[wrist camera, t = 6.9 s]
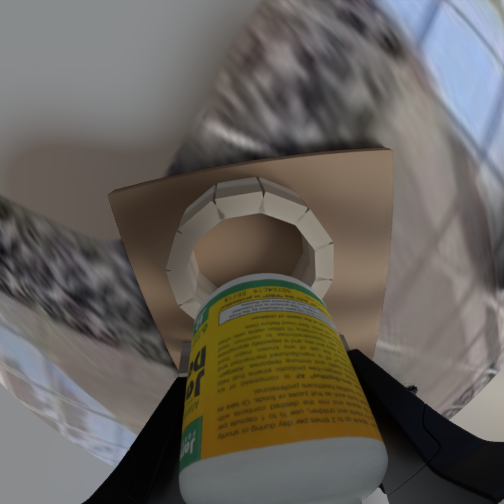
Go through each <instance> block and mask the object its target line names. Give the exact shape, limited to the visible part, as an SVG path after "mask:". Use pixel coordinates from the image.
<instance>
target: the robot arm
mask: <svg viewBox="0 0 504 504" xmlns="http://www.w3.org/2000/svg"><path fill="white" fill-rule="evenodd" d="M346 352H347V354H348V357H349V359H350V361H351V364H352V366H353V368H354V371H355V373H356V376H357V378H358V380H359V383H360V385H361V388H362V390H363V392H364V394H365V397H366V399H367V402H368V404H369V407H370V409H371V412H372V414H373V417H374V419H375V422H376V424H377V427H378V429H379V432H380V434H381V437H382V439H383V442H384V445H385V447H386V451H387V455H388V468H387V472H386V475H385V477H384V479H383V481H382V482H381V484H380V485H379V486H378V487H379V488H381V490H382V492H383V493H384V494H386V495H387V497H388V501H389V504H504V442H493V441H486V440H483V439H481V438H478V437H476V436H475V435H473V434H471V433H469V432H468V431H466V430H464V429H462V428H461V427H459V426H457V425H456V424H454V423H452V422H451V421H449V420H448V419H446V418H445V417H443V416H442V415H440V414H439V413H438V412H436V411H435V410H434V409H432V408H431V407H430V406H428V405H427V404H425V403H424V402H423V401H422V400H421V399H420V398H418V397H417V396H416V395H415V394H416V392H417V390H418V389H417V387H414V388H411V389H407V388H406V387H404V386H403V385H402V384H401V383H399V382H398V381H397V380H396V379H394V378H393V377H392V376H391V375H389V374H388V373H387V372H386V371H385V370H383V369H382V368H381V367H380V366H378V365H377V364H376V363H375V362H373V361H372V360H371V359H370V358H368V357H367V356H366V355H365V354H363V353H362V352H361V351H360V350H358V349H351V350H347V351H346ZM187 378H188V376H184V377H178V378H176V380H175V381H174V383H173V384H172V386H171V387H170V389H169V390H168V392H167V393H166V395H165V396H164V398H163V399H162V401H161V402H160V404H159V405H158V407H157V408H156V410H155V411H154V413H153V414H152V416H151V417H150V419H149V420H148V422H147V423H146V425H145V426H144V428H143V429H142V431H141V432H140V434H139V435H138V437H137V438H136V440H135V441H134V443H133V444H132V446H131V447H130V449H129V450H128V451H127V453H126V454H125V456H124V457H123V459H122V460H121V461H120V463H119V464H118V466H117V467H116V468H115V470H114V471H113V472H112V473H111V474H110V476H109V477H108V478H107V479H106V480H105V481H104V482H103V484H102V485H101V486H100V487H99V488H98V489H97V490H96V491H95V492H94V494H93V495H92V496H91V497H90V498H89V499H87V500H86V501H85V502H83V503H82V504H186V503H185V501H184V500H183V498H182V495H181V493H180V488H179V468H180V451H181V439H182V426H183V416H184V409H185V406H184V404H185V397H186V387H187Z"/></svg>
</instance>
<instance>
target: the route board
mask: <svg viewBox="0 0 504 504" xmlns="http://www.w3.org/2000/svg"><path fill="white" fill-rule="evenodd" d="M393 185H394V165H393V150H392V149H389V148H385V147H384V148H364V149H349V150H336V151H325V152H315V153H305V154H297V155H288V156H281V157H273V158H266V159H259V160H253V161H246V162H240V163H234V164H228V165H223V166H217V167H212V168H207V169H202V170H197V171H192V172H187V173H182V174H178V175H173V176H169V177H164V178H160V179H156V180H152V181H148V182H143V183H139V184H136V185H132V186H128V187H124V188H120V189H117V190H114V191H112V192H111V193H110V194H108V197H109V201H110V204H111V208H112V211H113V214H114V217H115V220H116V223H117V226H118V229H119V232H120V235H121V238H122V241H123V244H124V247H125V250H126V252H127V255H128V258H129V261H130V263H131V266H132V269H133V271H134V274H135V276H136V279H137V281H138V284H139V286H140V289H141V291H142V294H143V296H144V299H145V301H146V303H147V306H148V308H149V310H150V312H151V315H152V317H153V319H154V321H155V324H156V326H157V328H158V330H159V332H160V334H161V337H162V339H163V341H164V343H165V345H166V347H167V349H168V351H169V353H170V355H171V357H172V359H173V361H174V363H175V365H176V367H177V369H178V374H179V376H180V377H184V376H188V369H189V360H190V352H191V344H192V335H193V328H194V321H195V318H196V314H197V312H198V310H199V308H200V307H201V305H202V304H203V303H204V301H205V300H206V299H207V298H208V297H209V296H210V295H211V294H212V293H213V292H214V291H215V290H217V289H218V288H219V287H221V286H222V285H224V284H226V283H228V282H229V281H232V280H234V279H237V278H239V277H243V276H247V275H252V274H260V273H274V274H282V275H285V276H290V277H293V278H295V279H298V280H300V281H301V282H303V283H305V284H306V285H308V286H309V287H310V288H312V289H313V290H314V291H315V292H316V293H317V294H318V295H319V297H320V298H321V299H322V301H323V302H324V304H325V306H326V308H327V310H328V312H329V314H330V316H331V318H332V321H333V323H334V325H335V327H336V329H337V331H338V333H339V336H340V338H341V341H342V343H343V345H344V348H345V350H346V351H347V350H351V349H358V350H360V351H361V352H362V353H363V354H365V355H366V356H367V357H368V358H370V359H371V360H373V356H374V351H375V347H376V342H377V337H378V332H379V326H380V321H381V315H382V309H383V303H384V297H385V290H386V282H387V274H388V266H389V256H390V246H391V233H392V217H393Z"/></svg>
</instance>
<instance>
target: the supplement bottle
mask: <svg viewBox="0 0 504 504" xmlns="http://www.w3.org/2000/svg"><path fill="white" fill-rule="evenodd" d="M184 406H185V409H184V416H183V426H182V439H181V451H180V468H179V488H180V493H181V495H182V498H183V500H184V501H185V503H186V504H362V502H361V500H363V499H365V498H367V497H368V496H369V495H371V494H372V493H373V492H374V491H375V490H376V489H377V488H378V486H379V485H380V484H381V482H382V481H383V479H384V477H385V475H386V472H387V468H388V455H387V451H386V447H385V445H384V442H383V439H382V437H381V434H380V432H379V429H378V427H377V424H376V422H375V419H374V417H373V414H372V412H371V409H370V407H369V404H368V402H367V399H366V397H365V394H364V392H363V390H362V388H361V385H360V383H359V380H358V378H357V376H356V373H355V371H354V368H353V366H352V364H351V361H350V359H349V357H348V354H347V352H346V350H345V348H344V345H343V343H342V341H341V338H340V336H339V333H338V331H337V329H336V327H335V325H334V323H333V321H332V318H331V316H330V314H329V312H328V310H327V308H326V306H325V304H324V302H323V301H322V299H321V298H320V297H319V295H318V294H317V293H316V292H315V291H314V290H313V289H312V288H310V287H309V286H308V285H306V284H305V283H303V282H301V281H300V280H298V279H295V278H293V277H290V276H285V275H282V274H274V273H260V274H252V275H247V276H243V277H239V278H237V279H234V280H232V281H229V282H228V283H226V284H224V285H222V286H221V287H219V288H218V289H217V290H215V291H214V292H213V293H212V294H211V295H210V296H209V297H208V298H207V299H206V300H205V301H204V303H203V304H202V305H201V307H200V308H199V310H198V312H197V314H196V318H195V321H194V328H193V335H192V344H191V352H190V360H189V369H188V378H187V387H186V397H185V404H184Z"/></svg>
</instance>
